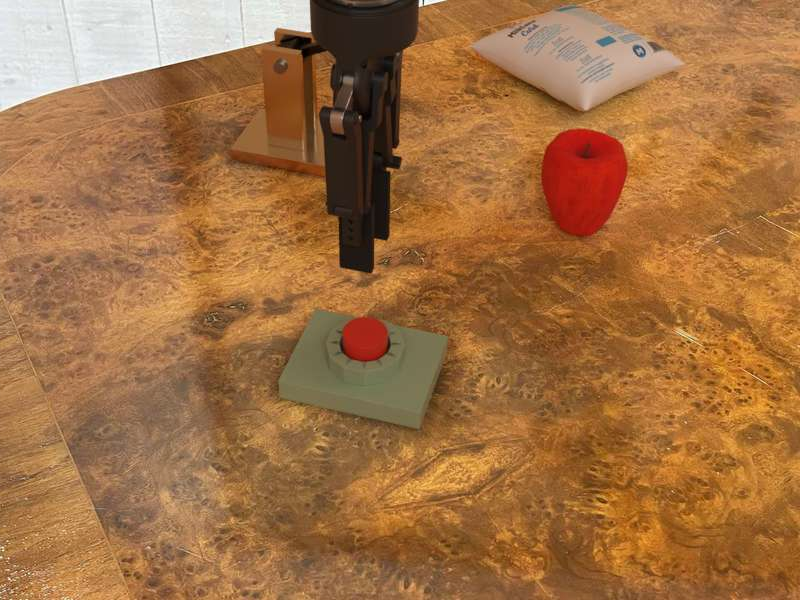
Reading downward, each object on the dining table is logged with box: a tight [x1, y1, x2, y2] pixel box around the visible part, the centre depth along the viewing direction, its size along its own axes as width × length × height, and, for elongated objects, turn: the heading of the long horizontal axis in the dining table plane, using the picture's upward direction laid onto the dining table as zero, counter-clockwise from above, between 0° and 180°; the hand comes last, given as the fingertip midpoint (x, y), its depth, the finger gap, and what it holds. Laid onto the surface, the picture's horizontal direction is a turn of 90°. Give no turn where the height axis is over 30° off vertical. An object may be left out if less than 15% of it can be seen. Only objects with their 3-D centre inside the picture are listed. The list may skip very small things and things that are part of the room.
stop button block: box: [277, 307, 449, 430], centre depth 96 cm, size 13×10×4 cm
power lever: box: [276, 39, 328, 63], centre depth 115 cm, size 14×4×4 cm, turn 74°
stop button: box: [343, 316, 388, 362], centre depth 95 cm, size 4×4×2 cm
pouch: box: [468, 4, 686, 112], centre depth 135 cm, size 8×19×20 cm
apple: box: [540, 128, 629, 237], centre depth 111 cm, size 9×9×11 cm
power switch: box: [230, 27, 326, 178], centre depth 121 cm, size 12×9×14 cm
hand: (365, 250), depth 88 cm, fingers open, 4 cm apart
